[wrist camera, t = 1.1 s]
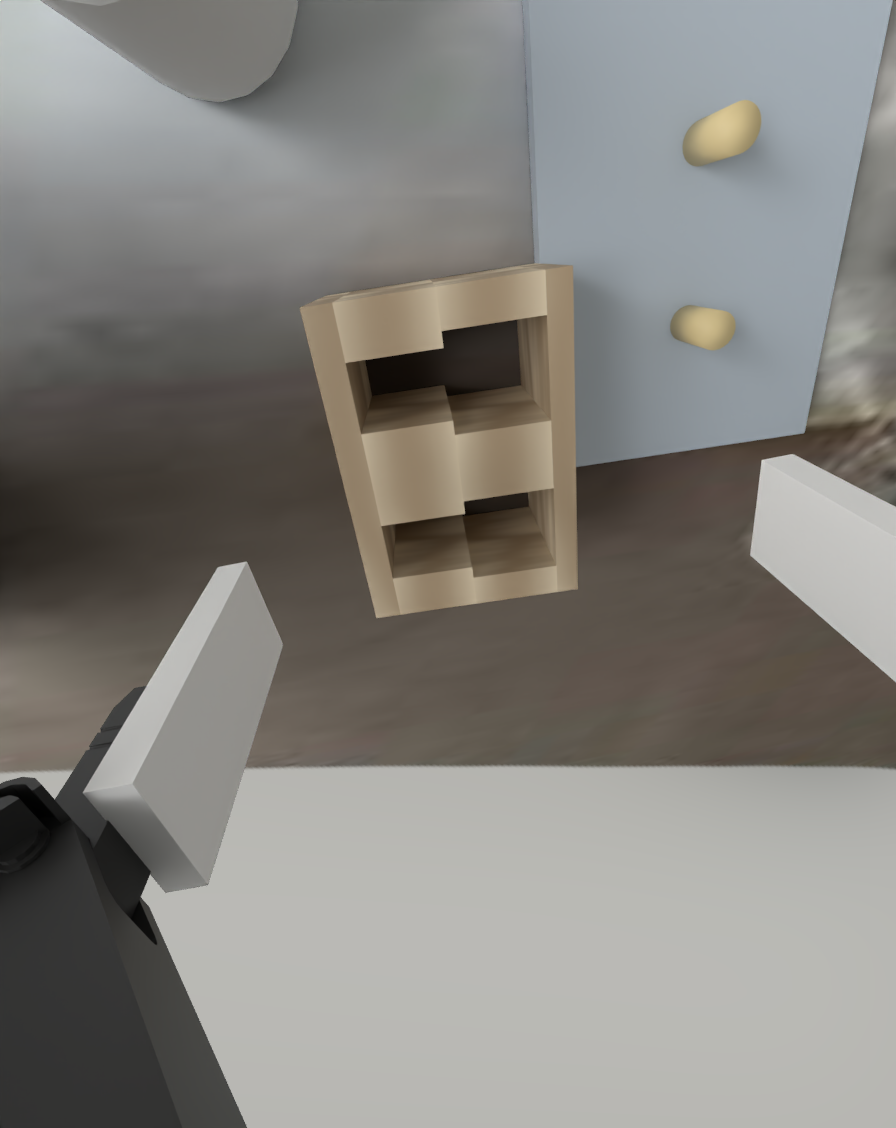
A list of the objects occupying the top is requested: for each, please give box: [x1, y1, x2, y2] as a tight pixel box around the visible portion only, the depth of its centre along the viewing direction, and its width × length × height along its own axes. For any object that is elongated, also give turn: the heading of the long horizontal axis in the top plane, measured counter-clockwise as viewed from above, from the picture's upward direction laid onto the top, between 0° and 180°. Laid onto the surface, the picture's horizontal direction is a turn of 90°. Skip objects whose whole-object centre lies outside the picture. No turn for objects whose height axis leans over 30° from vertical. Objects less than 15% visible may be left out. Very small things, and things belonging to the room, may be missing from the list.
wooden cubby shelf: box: [300, 263, 578, 618], centre depth 26 cm, size 10×14×7 cm
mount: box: [522, 0, 893, 467], centre depth 23 cm, size 14×20×4 cm
